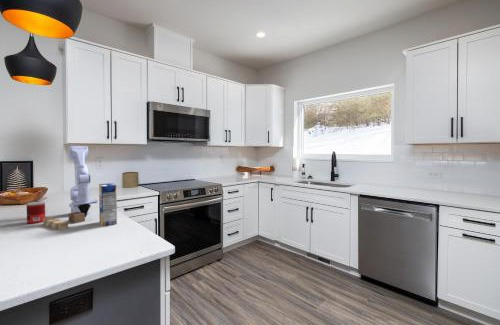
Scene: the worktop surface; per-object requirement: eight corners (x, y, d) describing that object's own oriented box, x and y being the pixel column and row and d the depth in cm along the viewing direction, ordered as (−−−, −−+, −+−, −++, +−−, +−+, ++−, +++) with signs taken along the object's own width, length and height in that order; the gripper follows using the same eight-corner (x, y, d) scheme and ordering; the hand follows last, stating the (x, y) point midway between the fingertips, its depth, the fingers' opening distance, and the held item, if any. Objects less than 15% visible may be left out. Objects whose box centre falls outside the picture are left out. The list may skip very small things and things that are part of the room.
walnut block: (68, 221, 143) (68, 213, 142) (78, 219, 147) (78, 211, 147) (75, 223, 138) (75, 215, 138) (85, 221, 143) (84, 213, 143)
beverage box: (102, 226, 133) (102, 186, 132) (99, 221, 142) (99, 184, 141) (116, 224, 137) (116, 185, 136) (112, 220, 146) (112, 183, 145)
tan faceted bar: (43, 224, 135) (43, 219, 135) (52, 222, 139) (52, 217, 139) (59, 229, 127) (59, 224, 126) (68, 227, 130) (68, 222, 130)
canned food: (48, 220, 143) (48, 201, 143) (35, 224, 136) (35, 204, 135) (37, 219, 144) (36, 201, 144) (23, 223, 136) (22, 204, 136)
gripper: (73, 196, 137) (74, 220, 138) (100, 193, 150) (100, 215, 150) (67, 195, 141) (67, 219, 141) (93, 192, 153) (94, 213, 154)
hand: (84, 216), depth 146 cm, fingers closed
